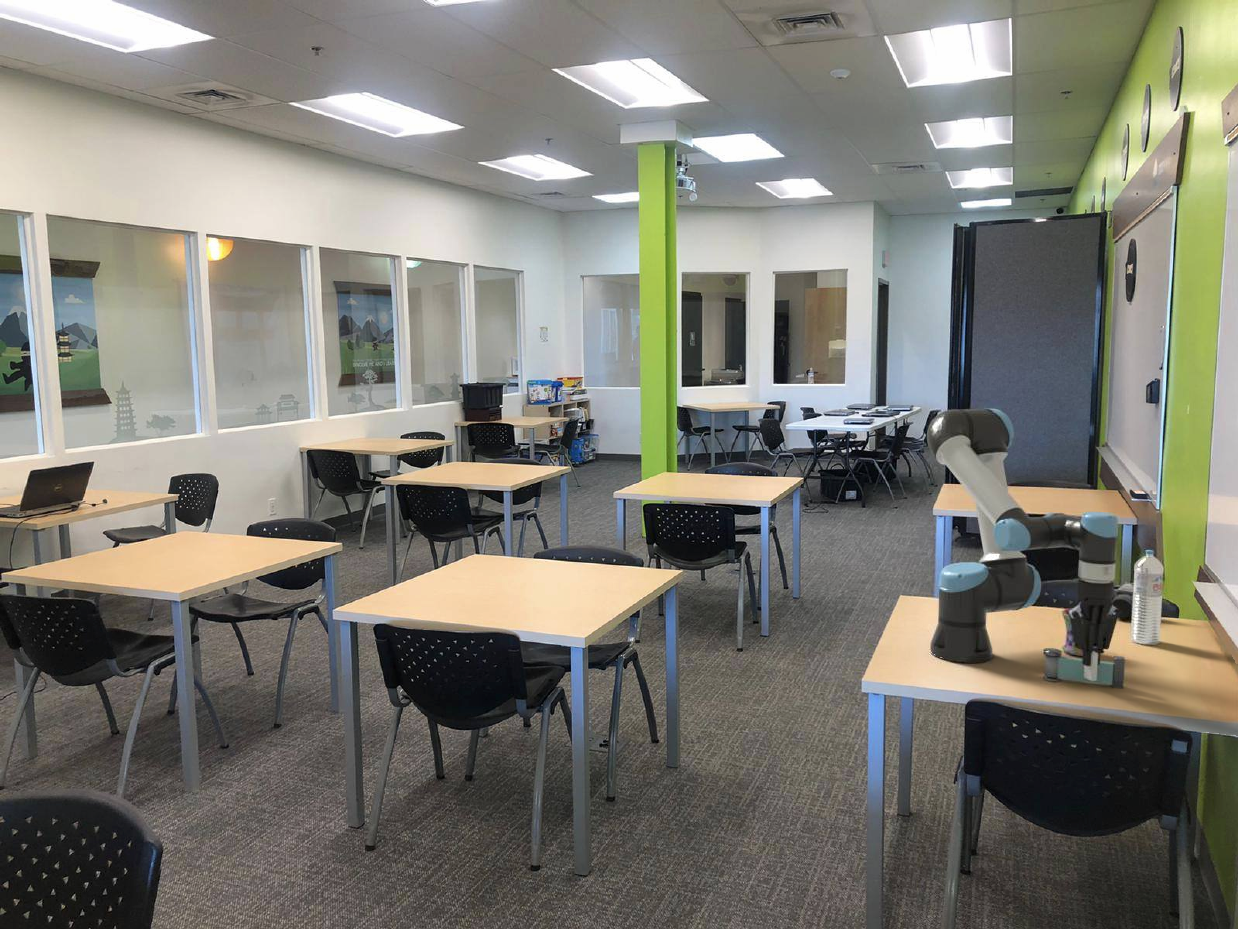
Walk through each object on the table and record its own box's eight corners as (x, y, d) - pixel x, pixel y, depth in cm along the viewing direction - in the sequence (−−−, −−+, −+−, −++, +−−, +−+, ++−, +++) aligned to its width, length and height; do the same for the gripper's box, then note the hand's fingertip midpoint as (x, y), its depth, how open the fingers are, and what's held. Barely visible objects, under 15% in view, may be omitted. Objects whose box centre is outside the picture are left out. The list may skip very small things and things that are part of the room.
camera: (1089, 616, 274) (1091, 583, 273) (1099, 609, 282) (1101, 577, 280) (1149, 626, 264) (1151, 592, 262) (1158, 618, 271) (1160, 585, 270)
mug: (1090, 661, 235) (1092, 620, 234) (1053, 652, 242) (1055, 612, 241) (1110, 651, 242) (1112, 611, 241) (1074, 643, 250) (1076, 604, 248)
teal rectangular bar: (1044, 677, 222) (1045, 657, 221) (1044, 673, 224) (1045, 653, 224) (1112, 686, 216) (1113, 665, 215) (1111, 682, 218) (1112, 661, 218)
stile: (1106, 686, 217) (1108, 657, 216) (1105, 682, 220) (1107, 653, 219) (1123, 688, 216) (1124, 659, 215) (1121, 684, 218) (1123, 655, 218)
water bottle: (1149, 637, 253) (1154, 547, 250) (1165, 645, 246) (1170, 553, 243) (1125, 638, 253) (1129, 548, 250) (1139, 646, 246) (1144, 553, 243)
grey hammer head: (1042, 680, 221) (1043, 652, 221) (1042, 675, 225) (1043, 647, 224) (1061, 682, 220) (1062, 654, 219) (1060, 677, 224) (1061, 649, 223)
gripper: (1082, 584, 209) (1076, 686, 212) (1132, 582, 212) (1125, 682, 214) (1060, 577, 216) (1055, 675, 219) (1108, 574, 219) (1102, 672, 222)
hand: (1090, 678), depth 217 cm, fingers closed
